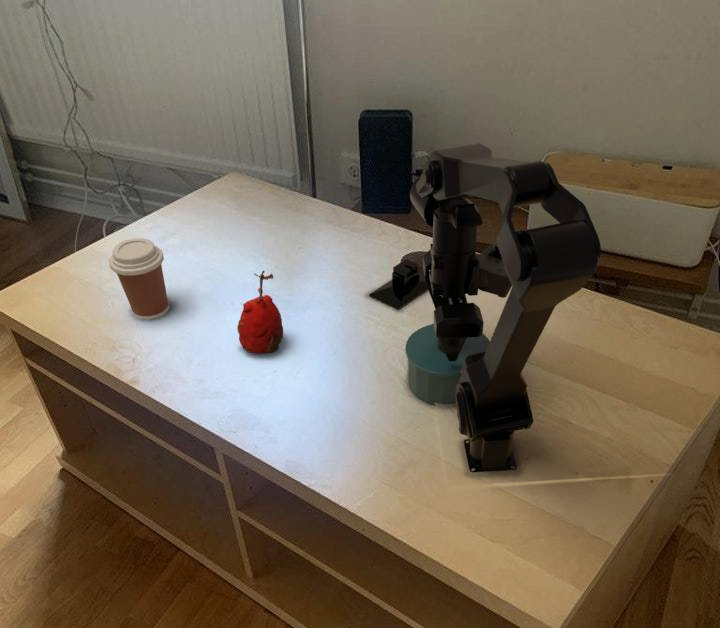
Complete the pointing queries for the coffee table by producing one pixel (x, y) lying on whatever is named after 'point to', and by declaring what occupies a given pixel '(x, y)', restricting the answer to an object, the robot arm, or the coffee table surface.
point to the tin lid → (439, 352)
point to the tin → (432, 386)
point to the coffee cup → (141, 276)
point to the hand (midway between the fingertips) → (448, 341)
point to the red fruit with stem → (260, 323)
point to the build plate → (402, 286)
